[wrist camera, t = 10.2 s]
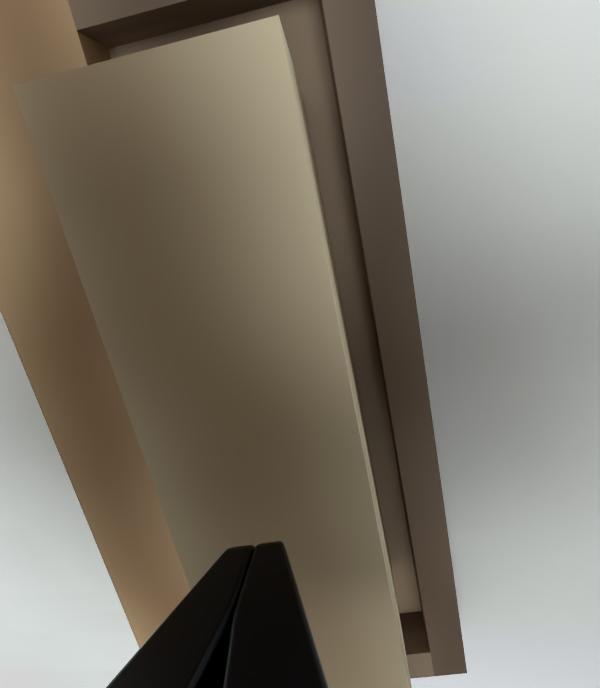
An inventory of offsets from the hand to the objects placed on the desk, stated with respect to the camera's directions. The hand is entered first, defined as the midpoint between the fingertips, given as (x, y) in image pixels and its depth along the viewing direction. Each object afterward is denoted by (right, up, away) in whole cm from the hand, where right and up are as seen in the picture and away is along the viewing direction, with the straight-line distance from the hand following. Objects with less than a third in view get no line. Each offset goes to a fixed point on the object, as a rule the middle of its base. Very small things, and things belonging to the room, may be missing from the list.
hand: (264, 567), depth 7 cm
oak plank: (0, +2, +7) cm, 7 cm away
